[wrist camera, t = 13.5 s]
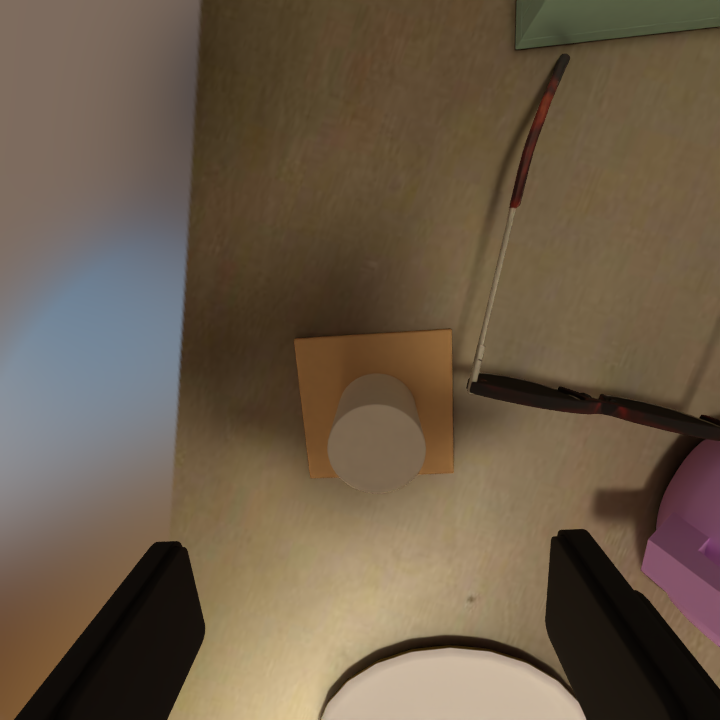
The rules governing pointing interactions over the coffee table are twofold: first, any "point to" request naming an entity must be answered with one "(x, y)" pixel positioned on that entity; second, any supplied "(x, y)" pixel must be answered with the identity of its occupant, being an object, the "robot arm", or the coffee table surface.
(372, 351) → the mat
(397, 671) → the plate
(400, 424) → the cylinder
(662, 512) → the teapot
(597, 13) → the green open box
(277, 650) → the coffee table surface
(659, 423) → the sunglasses
